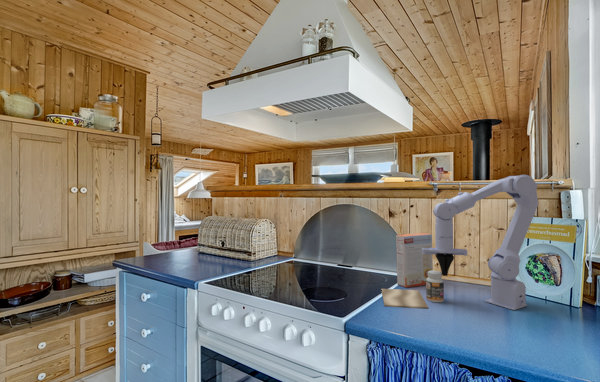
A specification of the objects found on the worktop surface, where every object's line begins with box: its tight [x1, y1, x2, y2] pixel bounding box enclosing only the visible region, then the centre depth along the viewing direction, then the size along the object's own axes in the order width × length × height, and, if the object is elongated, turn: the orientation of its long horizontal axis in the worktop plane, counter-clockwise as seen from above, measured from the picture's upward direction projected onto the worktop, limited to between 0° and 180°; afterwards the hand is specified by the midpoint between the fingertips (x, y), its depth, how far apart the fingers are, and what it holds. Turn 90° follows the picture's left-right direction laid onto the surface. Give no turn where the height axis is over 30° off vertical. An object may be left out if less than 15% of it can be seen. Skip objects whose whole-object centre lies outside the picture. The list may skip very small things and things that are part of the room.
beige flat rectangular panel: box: [380, 288, 429, 309], centre depth 115 cm, size 14×18×1 cm
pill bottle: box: [425, 270, 445, 303], centre depth 113 cm, size 6×6×10 cm
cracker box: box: [395, 232, 434, 288], centre depth 132 cm, size 14×6×21 cm, turn 109°
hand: (444, 275), depth 112 cm, fingers closed
